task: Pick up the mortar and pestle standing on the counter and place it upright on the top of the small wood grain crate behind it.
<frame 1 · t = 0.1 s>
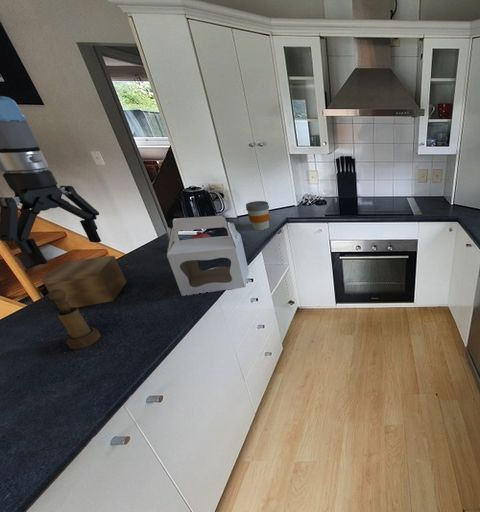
hand: (70, 251, 74), 27 cm above the worktop, tool pointing down, fingers open, 13 cm apart
gable box: (218, 283, 110), on the worktop
reusable coffee cup: (261, 227, 167), on the worktop
wood grain crate: (96, 295, 101), on the worktop
butter dish: (203, 247, 140), on the worktop
mortar and pestle: (86, 341, 80), on the worktop
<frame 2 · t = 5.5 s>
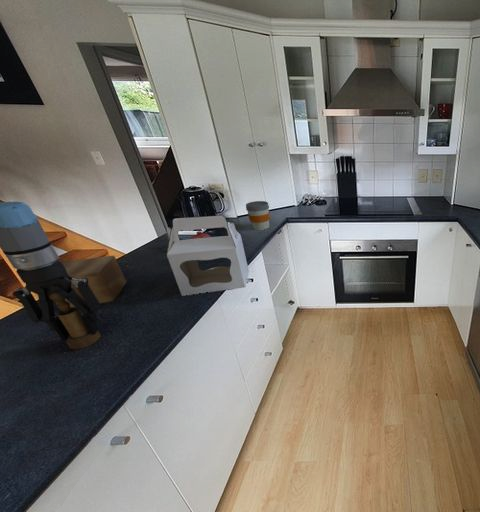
hand: (81, 334, 79), 3 cm above the worktop, tool pointing down, fingers closed on mortar and pestle, 6 cm apart
mortar and pestle: (86, 341, 80), on the worktop, touching gripper
everything else where it was.
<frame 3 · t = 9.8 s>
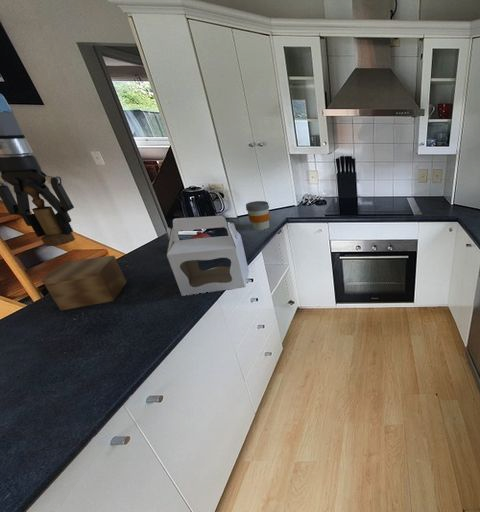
hand: (55, 233, 85), 27 cm above the worktop, tool pointing down, fingers closed on mortar and pestle, 5 cm apart
mortar and pestle: (60, 242, 86), point 24 cm above the worktop, touching gripper
everything else where it was.
when the fingers open (15 cm above the worktop, at t = 14.1 s): mortar and pestle stays where it is, resting on wood grain crate.
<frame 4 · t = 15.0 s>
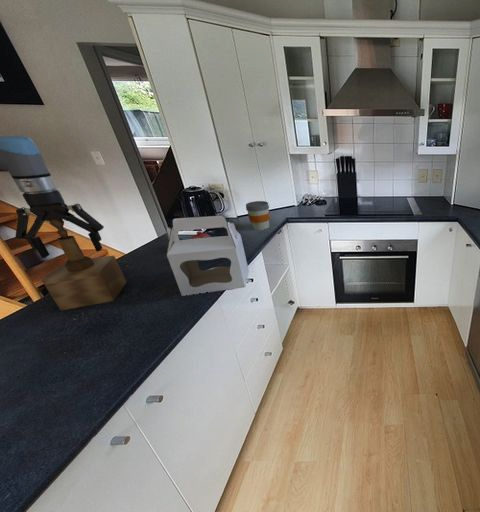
hand: (73, 253, 93), 17 cm above the worktop, tool pointing down, fingers open, 13 cm apart
mortar and pestle: (81, 267, 96), point 12 cm above the worktop, touching wood grain crate
everything else where it was.
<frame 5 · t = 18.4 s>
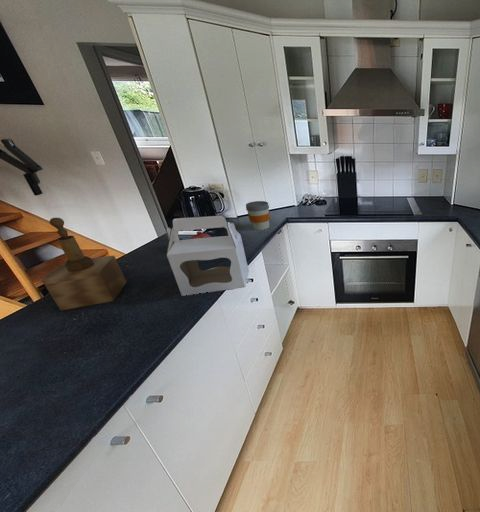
hand: (8, 196, 85), 37 cm above the worktop, tool pointing down, fingers open, 13 cm apart
nothing on the worktop moved.
at the end: mortar and pestle inside the target area on the wood grain crate (0.0 cm from its centre), point 11.8 cm above the wood grain crate's base; mortar and pestle tilted 0°; the gripper is holding nothing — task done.
